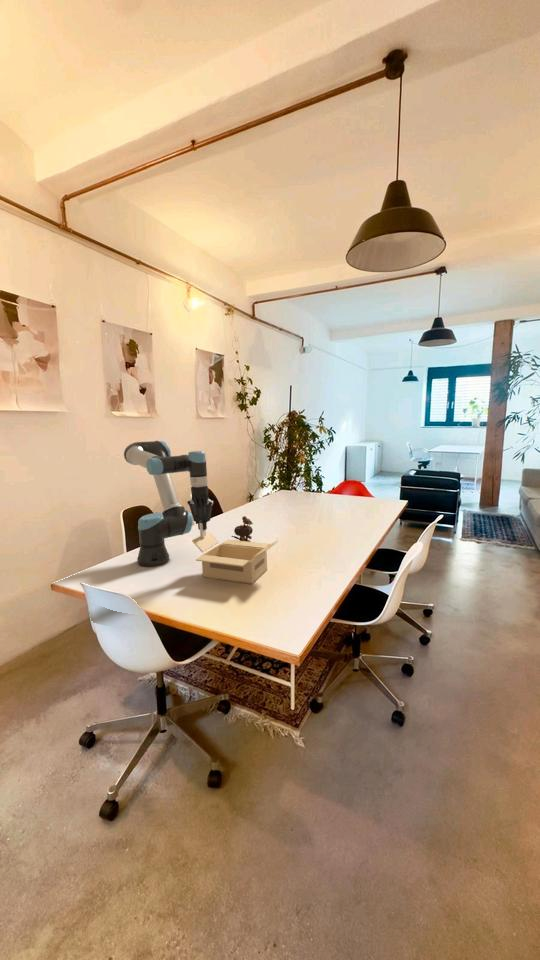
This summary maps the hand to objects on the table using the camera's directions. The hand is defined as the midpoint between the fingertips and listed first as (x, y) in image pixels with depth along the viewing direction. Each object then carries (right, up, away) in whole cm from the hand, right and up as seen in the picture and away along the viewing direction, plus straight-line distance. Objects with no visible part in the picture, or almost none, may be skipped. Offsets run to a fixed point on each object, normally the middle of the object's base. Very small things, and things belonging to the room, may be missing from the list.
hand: (203, 536), depth 174 cm
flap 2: (+26, -6, -10) cm, 28 cm away
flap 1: (+4, -5, -1) cm, 6 cm away
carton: (+15, -16, -4) cm, 22 cm away
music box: (+17, -12, +22) cm, 31 cm away
